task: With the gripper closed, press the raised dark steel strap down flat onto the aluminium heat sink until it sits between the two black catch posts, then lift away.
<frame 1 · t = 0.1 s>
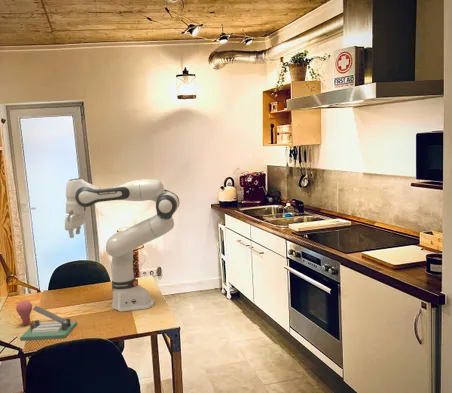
hand: (74, 235, 238), 39 cm above the table, tool pointing down, fingers open, 8 cm apart
heat sink board: (49, 332, 212), on the table
light bulb: (26, 325, 223), on the table
steel strap: (51, 315, 211), point 8 cm above the table, hinge at 30.0°
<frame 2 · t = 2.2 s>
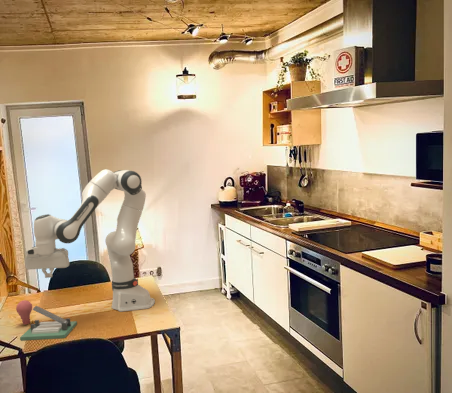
hand: (48, 277, 219), 23 cm above the table, tool pointing down, fingers closed
nothing on the table moved.
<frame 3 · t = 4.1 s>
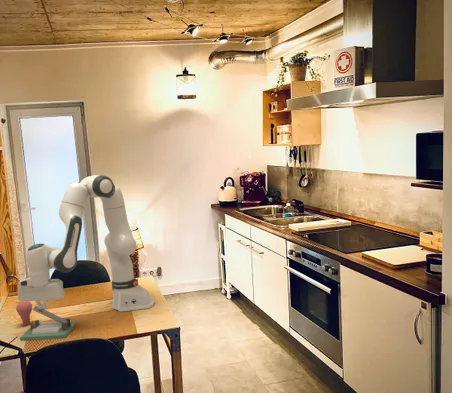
hand: (42, 309, 210), 11 cm above the table, tool pointing down, fingers closed
steel strap: (51, 315, 211), point 8 cm above the table, hinge at 29.7°, touching gripper
everything else where it was.
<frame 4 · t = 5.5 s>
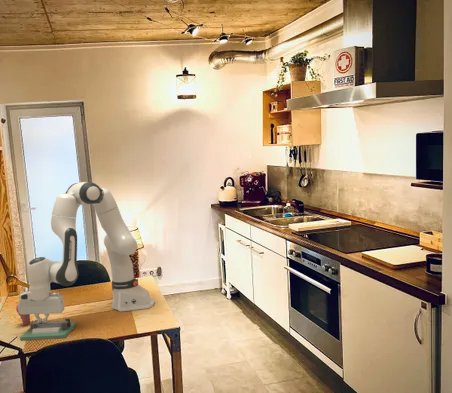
hand: (42, 322, 211), 5 cm above the table, tool pointing down, fingers closed, pressing on steel strap
steel strap: (49, 323, 211), point 4 cm above the table, hinge at 1.6°, touching gripper
everything else where it was.
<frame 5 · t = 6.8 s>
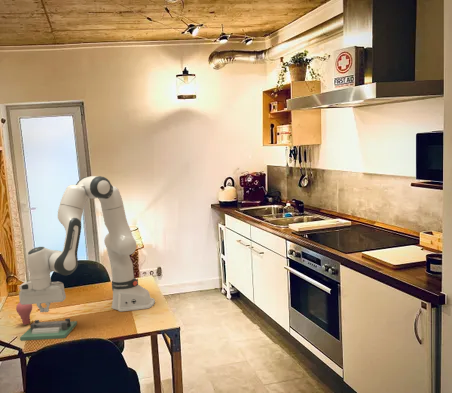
hand: (44, 311, 211), 10 cm above the table, tool pointing down, fingers closed
steel strap: (49, 323, 211), point 4 cm above the table, hinge at -0.2°
everything else where it was.
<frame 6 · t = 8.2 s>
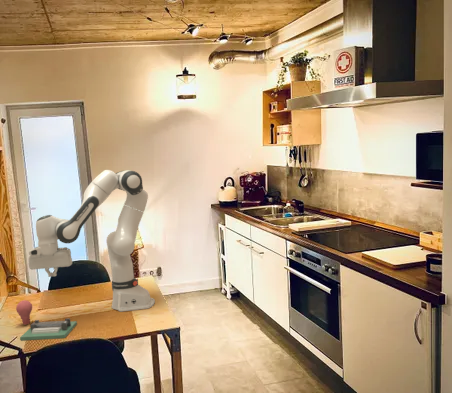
hand: (52, 276, 224), 22 cm above the table, tool pointing down, fingers closed
nothing on the table moved.
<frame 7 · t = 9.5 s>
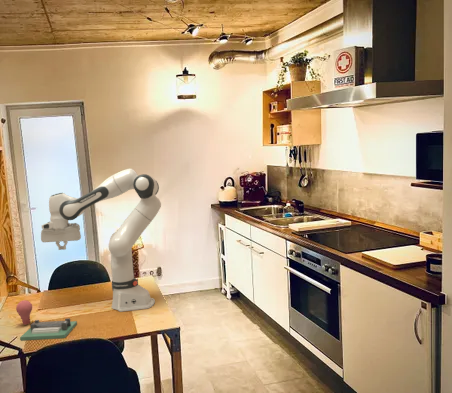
hand: (62, 249, 243), 31 cm above the table, tool pointing down, fingers closed
nothing on the table moved.
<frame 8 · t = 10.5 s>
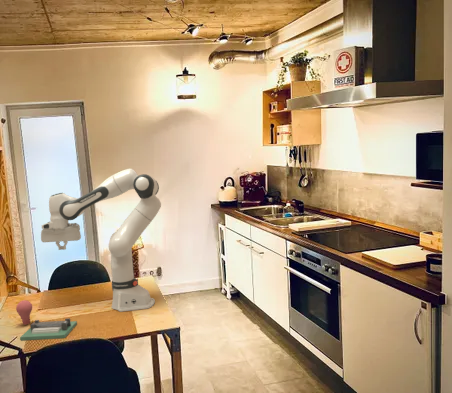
hand: (62, 249, 243), 31 cm above the table, tool pointing down, fingers closed
nothing on the table moved.
at the end: steel strap at +0° (first picture: +30°); light bulb moved 0.2 cm from its start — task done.
